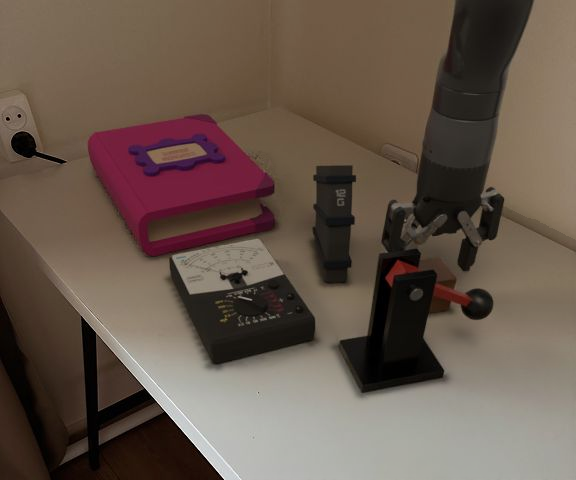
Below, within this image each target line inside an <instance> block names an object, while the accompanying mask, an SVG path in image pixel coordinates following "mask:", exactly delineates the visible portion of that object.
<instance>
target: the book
mask: <svg viewBox="0 0 576 480" xmlns="http://www.w3.org/2000/svg"><path fill="white" fill-rule="evenodd" d="M87 153H88V157H89V160H90V163H91V167H92V168H93V169H92V170H94V172H95V174H96V176H97V177H98V179H99V180H100V182H101V183H102V185H103V187H104V189H105V190H106V192H107V193H108V195H109V198H110V199H111V200H112V202H113V203H114V206H115V207H116V209H117V210H118V212H119V214H120V215H121V217H122V218H123V221H124V222H125V224H126V225H127V227H128V229H129V230H130V232H131V234H132V235H133V237H134V239H135V241H136V242H137V244H138V245H139V247H140V249H141V251H142V252H143V253H145V254H146V255H148V256H151V257H157V256H161V255H165V254H169V253H174V252H178V251H181V250H186V249H191V248H194V247H199V246H203V245H207V244H211V243H216V242H219V241H225V240H229V239H231V238H237V237H241V236H245V235H249V234H253V233H255V234H258V233H263V232H266V231H270V230H272V229H274V228H275V226H276V224H275V223H276V217H275V216H276V215H275V213H273V211H272V210H271V209H270V208H269V207H268V206H266V205H264V204H263V203H262V202H261V201H260V200H261V199H262V198H266V197H270V196H273V195H274V194H275V193H276V192H275V190H276V189H275V186H276V184H275V183H276V182H275V180H274V179H273V178H272V177H271V176H270V175H269V174H268V173H267V172H264V170H263V169H262V168H260V166H258V165H257V163H255V161H254V160H253V159H252V158H251V157H250V156H249V155H248V154H247V153H246V152H245V151H244V150H243V149H242V148H241V147H240V146H239V145H238V144H237V143H236V142H235V141H234V140H233V139H232V138H231V137H230V136H229V135H228V134H227V133H226V132H225V130H223V129H222V128H221V127H220V126H219V125H218V122H216V120H215V119H214V118H213V117H212V116H211V115H209V114H207V113H206V114H205V113H198V114H193V115H186V116H183V117H180V118H174V119H168V120H162V121H156V122H150V123H143V124H138V125H133V126H126V127H120V128H114V129H113V128H112V129H109V130H108V129H107V130H101V131H96V132H93V133H91V135H90V136H89V138H88V140H87Z"/></svg>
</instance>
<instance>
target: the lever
mask: <svg viewBox="0 0 576 480" xmlns="http://www.w3.org/2000/svg"><path fill="white" fill-rule="evenodd" d="M419 271H420V270H419V269H418V268H417V267H415V266H413V265H410V264H407V263H405V262H402V261H399V260H397V262H396V263H395V265H394V266H393V267H392V269H391V270H390V272H389V273H388V275H387V276H386V277H385V278H386V280H387V281H388V283H389V285H390V286H391V288H392V283H393V277H394V275H399V274H406V273H412V272H419ZM433 295H435V296H438V297H440V298H443V299H446V300H449V301H451V303H455V304H457V305H460V309H461V312H462V314H463V315H464V316H465V317H466V318H467V319H469V320H473V321H480V320H483V319H486V318H487V317H489V315H491V313H492V312H493V309H494V305H495V303H494V298H493V296H492V294H491V293H490V292H489V291H487V289H484V288H479V287H475V288H472V289H469V290H467V291H466V292H465V293H464V292H462V291H459V290H456V289H455V288H454V289H451V288H448V287H446V286H443V285H440V284H437V283H436V284H435V288H434V292H433Z"/></svg>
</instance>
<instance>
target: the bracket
mask: <svg viewBox="0 0 576 480" xmlns="http://www.w3.org/2000/svg"><path fill="white" fill-rule="evenodd" d="M421 257H422V252H421V251H420V250H419V248H416V249H410V250H402V251H395V252H382V253H378V260H377V267H376V273H375V279H374V287H373V293H372V294H373V295H372V301H371V307H370V314H369V321H368V328H367V335H363V336H356V337H351V338H345V339H340V340H339V341H338V343H339V344H338V349H339V351H340V353H341V355H342V357H343V358H344V361H345V363H346V365H347V366H348V369H349V370H350V372H351V375H352V377H353V378H354V380H355V383H356V385H357V386H358V388H359V391H360V392H361V394H364V393H368V392H374V391H379V390H386V389H391V388H395V387H400V386H406V385H411V384H417V383H422V382H428V381H434V380H439V379H443V378H444V374H445V369H444V367H443V366H442V364H441V363H440V360H438V358H437V356H436V355H435V354H434V352H433V350H432V349H431V347H430V346H429V344H428V343H427V342H426V340H425V338H424V336H425V332H426V329H427V328H426V327H427V322H428V318H429V314H430V313H429V310H430V306H431V301H432V297H433V292H434V288H435V284H436V279H437V273H436V272H435V271H434V270H426V271H419V272H412V273H406V274H399V275H394V277H393V283H392V288H391V286H390V285H389V283H388V281H387V280H386V278H385V277H386V276H387V275H388V273H389V272H390V270H391V269H392V267H393V266H394V265H395V263H396V262H397V260H399V261H402V262H405V263H407V264H410V265H413V266H415V267H417V268H418V267H419V262H420V260H421Z"/></svg>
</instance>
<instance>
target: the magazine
mask: <svg viewBox="0 0 576 480" xmlns="http://www.w3.org/2000/svg"><path fill="white" fill-rule="evenodd" d="M353 167H354V166H353V164H352V165H350V164H349V165H347V164H345V165H343V164H342V165H341V164H340V165H339V164H338V165H336V164H335V165H316V166H315V174H313V175H312V176H313V177H312V178H313V179H312V181H314V182H316V183H315V187H316V188H315V194H316V195H315V196H316V197H315V203H313V205H312V209H313V210H314V212H315V225H314V226H312V230H311V231H312V234H313V237H314V244H315V247H316V248H315V249H316V251H317V257H318V260H319V264H320V268H321V273H322V277H323V281H324V283H326V284H332V283H333V284H334V283H336V284H337V283H346V282H347V280H348V270H349V269H352V267H353V259H352V257H351V255H350V247H351V234H352V233H351V232H352V226H355V224H356V216H354V215H353V213H352V212H353V183H356V182H357V175H356V174H353Z"/></svg>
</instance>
